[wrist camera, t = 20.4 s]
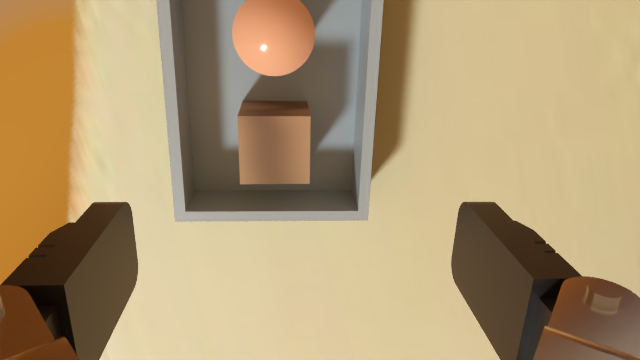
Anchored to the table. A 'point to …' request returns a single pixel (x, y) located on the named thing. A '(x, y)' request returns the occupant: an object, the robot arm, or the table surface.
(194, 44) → the tote
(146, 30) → the table surface
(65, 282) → the robot arm
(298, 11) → the orange round part
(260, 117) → the cube
